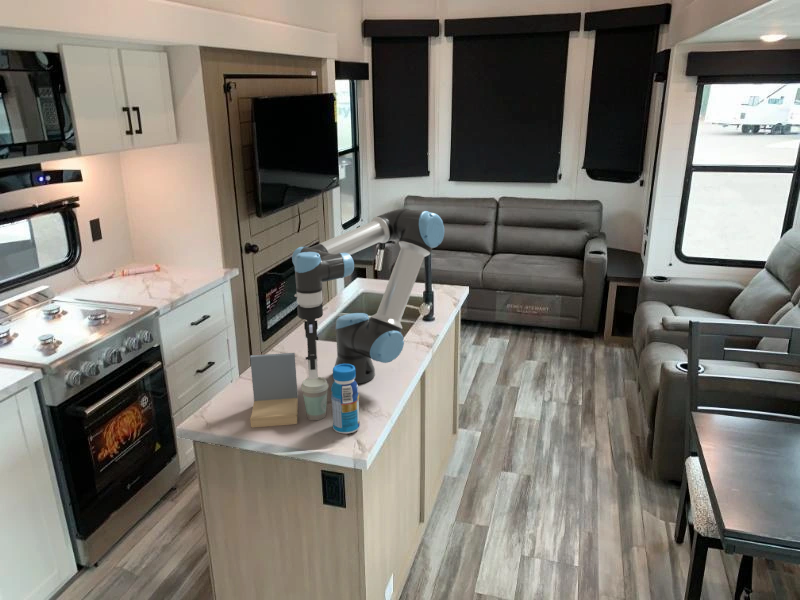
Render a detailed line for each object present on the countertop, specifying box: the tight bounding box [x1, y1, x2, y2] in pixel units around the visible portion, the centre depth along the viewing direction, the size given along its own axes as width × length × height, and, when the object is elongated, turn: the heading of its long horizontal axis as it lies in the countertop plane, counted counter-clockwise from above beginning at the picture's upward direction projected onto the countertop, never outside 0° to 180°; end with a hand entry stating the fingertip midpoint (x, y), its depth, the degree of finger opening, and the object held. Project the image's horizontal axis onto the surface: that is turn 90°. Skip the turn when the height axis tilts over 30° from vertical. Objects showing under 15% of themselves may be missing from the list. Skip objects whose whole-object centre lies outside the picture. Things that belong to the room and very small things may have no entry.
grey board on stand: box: [249, 352, 299, 429], centre depth 186 cm, size 14×15×18 cm
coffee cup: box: [300, 376, 329, 421], centre depth 186 cm, size 8×8×12 cm
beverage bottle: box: [330, 364, 361, 435], centre depth 178 cm, size 8×8×20 cm
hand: (313, 369), depth 183 cm, fingers open, 13 cm apart
